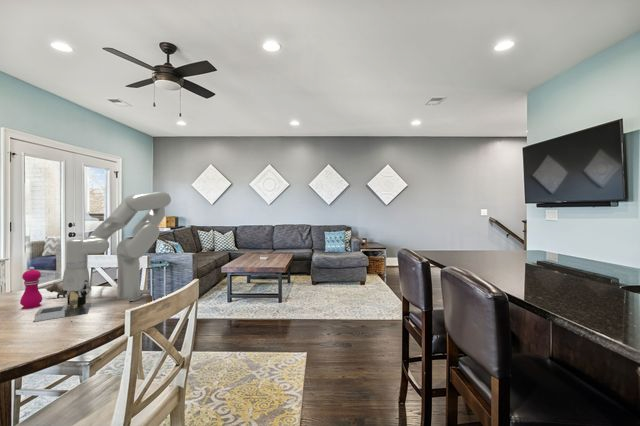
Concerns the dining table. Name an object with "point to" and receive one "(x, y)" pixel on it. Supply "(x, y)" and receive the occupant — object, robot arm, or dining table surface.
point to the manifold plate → (60, 312)
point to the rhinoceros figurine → (57, 289)
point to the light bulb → (74, 299)
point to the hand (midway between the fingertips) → (76, 304)
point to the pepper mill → (31, 289)
